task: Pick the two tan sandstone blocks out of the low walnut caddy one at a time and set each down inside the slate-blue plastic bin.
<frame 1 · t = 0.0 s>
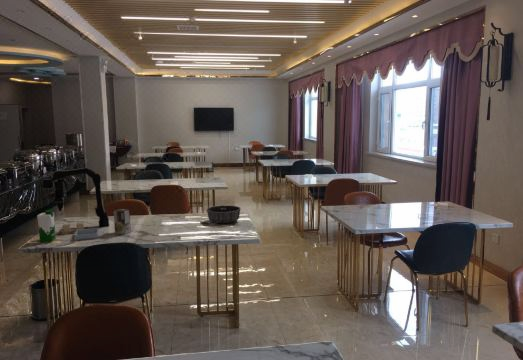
hand: (61, 209, 311), 15 cm above the table, fingers open, 9 cm apart
slate bin: (87, 236, 295), on the table
milk carton: (47, 241, 286), on the table
stone a: (66, 231, 306), resting on walnut caddy
coffee box: (123, 232, 305), on the table
bundt pan: (223, 221, 336), on the table
walnut caddy: (73, 231, 307), on the table
stone b: (80, 230, 308), resting on walnut caddy
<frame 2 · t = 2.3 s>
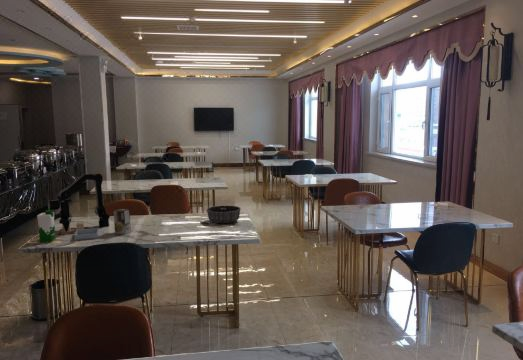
hand: (66, 230, 306), 2 cm above the table, fingers closed on stone a, 4 cm apart
stone a: (66, 231, 306), resting on walnut caddy, touching gripper
everything else where it was.
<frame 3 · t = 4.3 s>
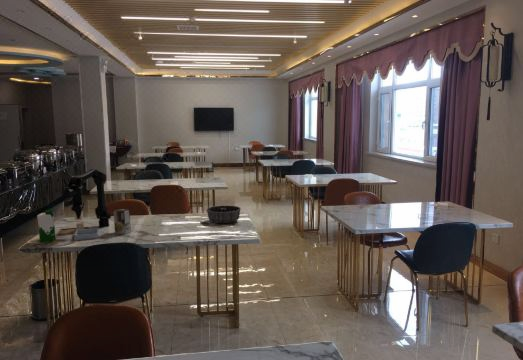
hand: (78, 218, 293), 13 cm above the table, fingers closed on stone a, 4 cm apart
stone a: (78, 219, 293), point 12 cm above the table, touching gripper
everything else where it was.
when the fingers open (3 cm above the table, at t = 6.2 s): stone a drops 2 cm, resting on slate bin.
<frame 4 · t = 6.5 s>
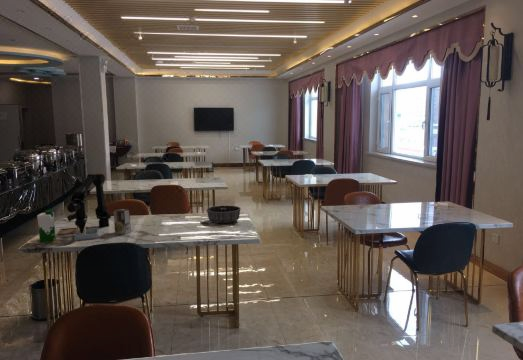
hand: (82, 231, 294), 3 cm above the table, fingers open, 7 cm apart
stone a: (82, 236, 294), resting on slate bin
everything else where it was.
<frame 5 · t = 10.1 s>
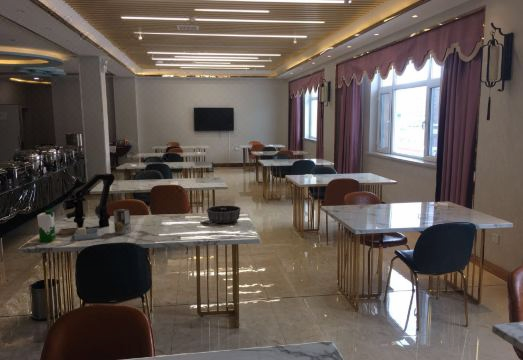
hand: (80, 229, 308), 2 cm above the table, fingers closed on stone b, 4 cm apart
stone b: (80, 230, 308), resting on walnut caddy, touching gripper
everything else where it was.
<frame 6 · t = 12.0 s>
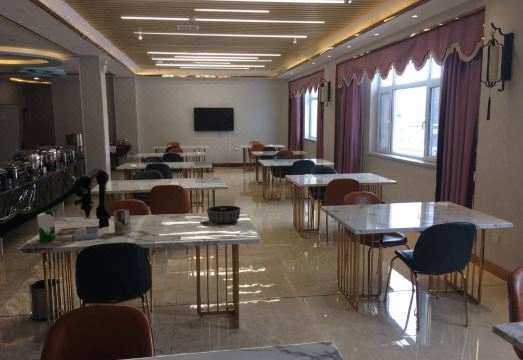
hand: (88, 217, 296), 13 cm above the table, fingers closed on stone b, 4 cm apart
stone b: (87, 218, 296), point 12 cm above the table, touching gripper
everything else where it was.
when the fingers open (3 cm above the table, at t = 14.0 s): stone b drops 2 cm, resting on slate bin.
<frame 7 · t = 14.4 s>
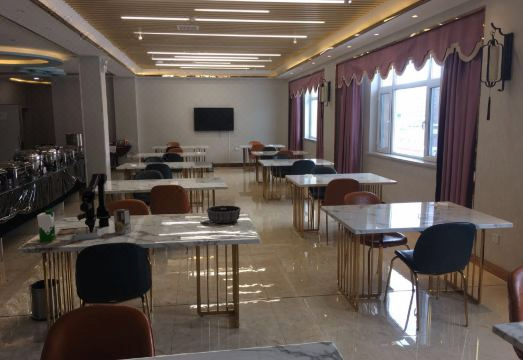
hand: (91, 231, 295), 3 cm above the table, fingers open, 9 cm apart
stone b: (91, 235, 296), resting on slate bin
everything else where it was.
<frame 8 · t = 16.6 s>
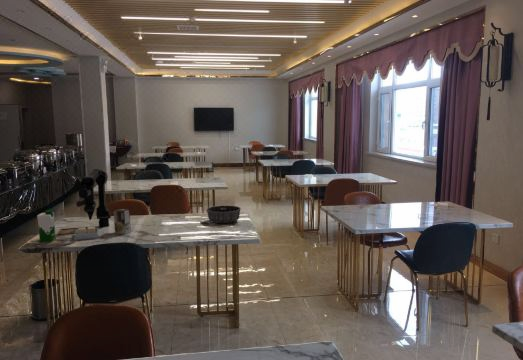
hand: (90, 218, 294), 12 cm above the table, fingers open, 9 cm apart
nothing on the table moved.
at the end: stone a inside the target area on the slate bin (3.1 cm from its centre), point 0.4 cm above the slate bin's base; stone b inside the target area on the slate bin (2.9 cm from its centre), point 0.4 cm above the slate bin's base; the gripper is holding nothing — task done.
